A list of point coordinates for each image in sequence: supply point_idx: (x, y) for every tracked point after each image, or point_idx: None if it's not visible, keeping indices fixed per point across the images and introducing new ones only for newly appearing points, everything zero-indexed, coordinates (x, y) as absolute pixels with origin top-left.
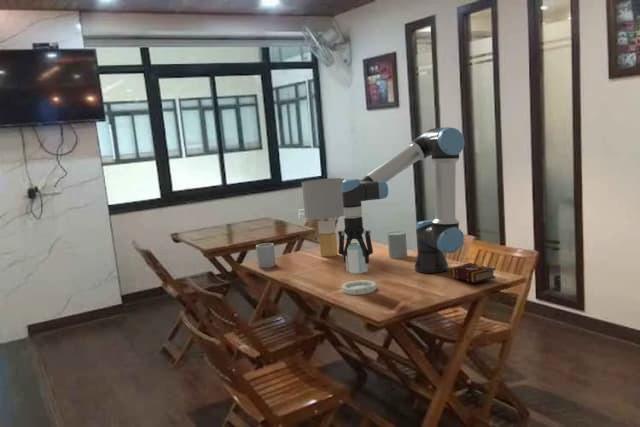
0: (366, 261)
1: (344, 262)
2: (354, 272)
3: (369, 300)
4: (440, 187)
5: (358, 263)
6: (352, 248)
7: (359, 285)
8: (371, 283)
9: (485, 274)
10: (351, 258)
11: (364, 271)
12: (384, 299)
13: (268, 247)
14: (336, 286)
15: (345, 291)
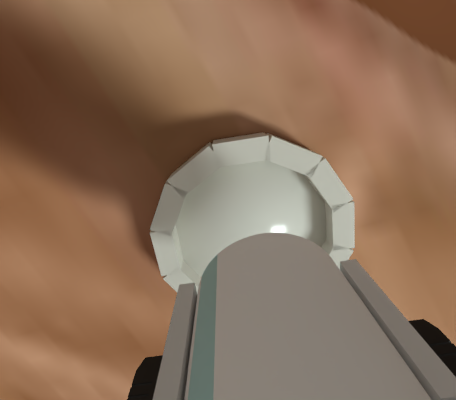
0: (151, 378)
1: (427, 324)
2: (257, 234)
3: (74, 61)
4: None
5: (219, 309)
6: None
7: None
8: (195, 283)
9: None
10: (321, 336)
11: (187, 285)
12: (5, 110)
13: None
14: (404, 246)
15: (293, 143)
